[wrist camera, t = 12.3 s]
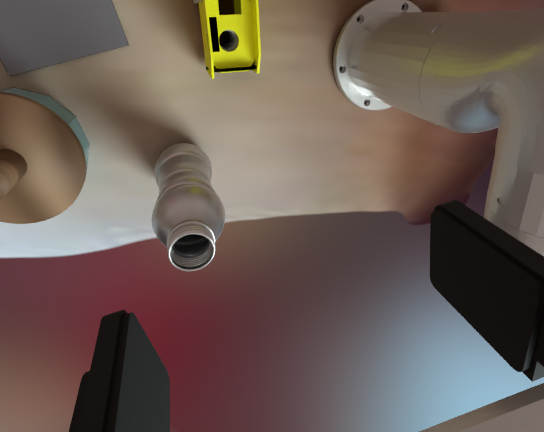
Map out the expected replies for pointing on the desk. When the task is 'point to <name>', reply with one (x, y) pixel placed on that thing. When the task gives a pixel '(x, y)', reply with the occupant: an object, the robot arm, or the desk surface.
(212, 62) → the yellow toy chassis
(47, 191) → the lid
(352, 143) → the desk surface
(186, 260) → the plastic bottle
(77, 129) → the bowl
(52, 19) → the mat
